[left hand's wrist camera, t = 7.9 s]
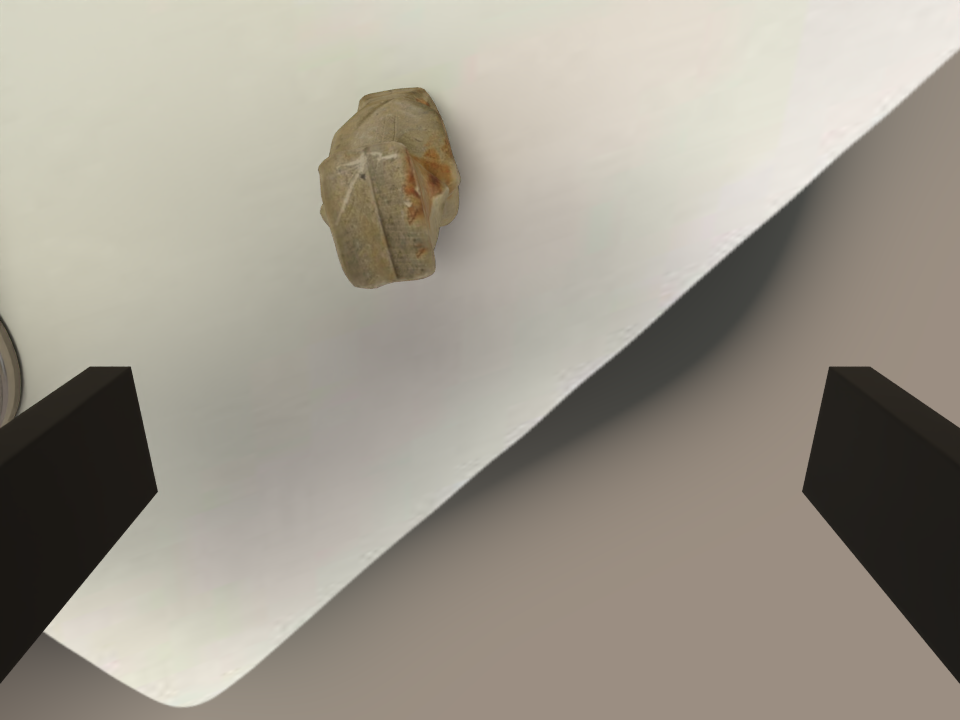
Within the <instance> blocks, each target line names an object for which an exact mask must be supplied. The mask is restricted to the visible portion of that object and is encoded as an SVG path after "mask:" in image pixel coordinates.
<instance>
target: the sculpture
mask: <svg viewBox="0 0 960 720" xmlns="http://www.w3.org/2000/svg"><path fill="white" fill-rule="evenodd" d="M318 171H319V174H320V185H321V197H322V201H323V204H322V206H321V210H320V214H321V216H322V218H323V220H324V221H325V222H326V224H327V225H328V226H329V227H330V230H331V233H332V236H333V239H334V243H335V246H336V250H337V253H338V257H339V260H340V263H341V266H342V269H343V271H344V273H345V275H346V276H347V278H348V279H349V281H350V282H351V283H352V284H353V285H354V286H355V287H359V288H366V289H373V288H378V287H380V286H383V285H385V284H388V283H392V282H400V281H410V280H418V279H423V278H426V277H428V276H430V275H432V274H433V273H434V272H435V268H436V267H435V257H434V248H435V245H436V242H437V239H438V234H439V228H440V227H441V226H445V225H448V224H449V223H450V222H451V221H452V220H453V219H454V218H455V216H456V215H457V212H458V208H459V192H458V186H459V184H460V180H461V177H460V174H459V171H458V169H457V166H456V163H455V160H454V157H453V155H452V151H451V147H450V143H449V139H448V136H447V132H446V129H445V126H444V123H443V121H442V118H441V116H440V114H439V112H438V110H437V108H436V105H435V104H434V102H433V101H432V99H431V97H430V96H429V94H428V93H427V92H426V91H425V90H424V89H422V88H418V87H416V88H402V89H393V90H388V91H382V92H377V93H372V94H368V95H365V96H364V97H362V99H361V100H360V101H359V107H358V112H357V113H356V114H355V115H354V116H353V117H352V118H351V119H349V120H348V121H347V122H346V123H345V124H344V125H343V126H342V127H341V128H340V129H339V130H338V131H337V132H336V134H335V135H334V138H333V140H332V144H331V149H330V154H329V157H328V158H327V159H325V160H324V161H323V162H322V163H321V164H320V166H319V168H318Z"/></svg>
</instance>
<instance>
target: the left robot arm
mask: <svg viewBox="0 0 960 720" xmlns="http://www.w3.org/2000/svg"><path fill="white" fill-rule="evenodd" d="M20 394H21V375H20V369H19V363H18V359H17V356H16V352H15V350H14V347H13V344H12V342H11V339H10V337H9V335H8V333H7V331H6V329H5V328H4V326H3V324H2V322H1V321H0V683H1V682H2V681H3V680H4V678H5V677H6V676H7V675H8V674H9V672H10V671H11V670H12V669H13V667H14V666H15V665H16V664H17V663H18V661H19V660H20V659H21V658H22V657H23V655H24V654H25V653H26V652H27V650H28V649H29V648H30V647H31V646H32V644H33V643H34V642H35V641H36V639H37V638H38V637H39V636H40V635H41V633H42V632H43V631H44V630H45V629H46V627H47V626H48V625H49V624H50V622H51V621H52V620H53V619H54V618H55V616H56V615H57V614H58V613H59V611H60V610H61V609H62V608H63V607H64V605H65V604H66V603H67V602H68V601H69V599H70V598H71V597H72V596H73V594H74V593H75V592H76V591H77V590H78V588H79V587H80V586H81V585H82V583H83V582H84V581H85V580H86V579H87V577H88V576H89V575H90V574H91V573H92V571H93V570H94V569H95V568H96V566H97V565H98V564H99V563H100V562H101V560H102V559H103V558H104V557H105V555H106V554H107V553H108V552H109V551H110V549H111V548H112V547H113V546H114V545H115V543H116V542H117V541H118V540H119V538H120V537H121V536H122V535H123V534H124V532H125V531H126V530H127V529H128V527H129V526H130V525H131V524H132V523H133V521H134V520H135V519H136V518H137V517H138V515H139V514H140V513H141V512H142V510H143V509H144V508H145V507H146V506H147V504H148V503H149V502H150V501H151V499H152V498H153V497H154V496H155V495H156V493H157V492H158V490H157V485H156V481H155V476H154V472H153V467H152V462H151V458H150V453H149V449H148V444H147V439H146V435H145V430H144V426H143V421H142V416H141V412H140V407H139V402H138V398H137V393H136V389H135V384H134V379H133V375H132V370H131V367H89V368H87V369H86V370H84V371H83V372H81V373H80V374H79V375H77V376H76V377H74V378H73V379H71V380H70V381H68V382H67V383H65V384H64V385H62V386H61V387H60V388H58V389H57V390H55V391H54V392H52V393H51V394H49V395H48V396H46V397H45V398H43V399H42V400H41V401H39V402H38V403H36V404H35V405H33V406H32V407H30V408H29V409H27V410H26V411H24V412H23V413H22V414H20V415H19V416H17V417H16V418H14V417H15V415H16V412H17V409H18V406H19V401H20ZM802 492H803V493H804V495H805V496H806V497H807V498H808V499H809V501H810V502H811V503H812V504H813V506H814V507H815V508H816V509H817V510H818V512H819V513H820V514H821V515H822V517H823V518H824V519H825V520H826V521H827V523H828V524H829V525H830V526H831V527H832V529H833V530H834V531H835V532H836V534H837V535H838V536H839V537H840V538H841V540H842V541H843V542H844V543H845V545H846V546H847V547H848V548H849V549H850V551H851V552H852V553H853V554H854V555H855V557H856V558H857V559H858V560H859V562H860V563H861V564H862V565H863V566H864V568H865V569H866V570H867V571H868V573H869V574H870V575H871V576H872V577H873V579H874V580H875V581H876V582H877V583H878V585H879V586H880V587H881V588H882V590H883V591H884V592H885V593H886V594H887V596H888V597H889V598H890V599H891V601H892V602H893V603H894V604H895V605H896V607H897V608H898V609H899V610H900V611H901V613H902V614H903V615H904V616H905V618H906V619H907V620H908V621H909V622H910V624H911V625H912V626H913V627H914V629H915V630H916V631H917V632H918V633H919V635H920V636H921V637H922V638H923V639H924V641H925V642H926V643H927V644H928V646H929V647H930V648H931V649H932V650H933V652H934V653H935V654H936V655H937V657H938V658H939V659H940V660H941V661H942V663H943V664H944V665H945V666H946V667H947V669H948V670H949V671H950V672H951V674H952V675H953V676H954V677H955V678H956V680H957V681H958V682H959V683H960V428H959V427H957V426H956V425H954V424H953V423H952V422H950V421H949V420H947V419H946V418H944V417H943V416H941V415H940V414H938V413H937V412H935V411H934V410H933V409H931V408H930V407H928V406H927V405H925V404H924V403H922V402H921V401H919V400H918V399H917V398H915V397H914V396H912V395H911V394H909V393H908V392H906V391H905V390H903V389H902V388H900V387H899V386H897V385H896V384H895V383H893V382H892V381H890V380H889V379H887V378H886V377H884V376H883V375H881V374H880V373H879V372H877V371H876V370H874V369H873V368H871V367H829V370H828V375H827V379H826V384H825V389H824V393H823V398H822V403H821V407H820V412H819V416H818V421H817V426H816V430H815V435H814V440H813V444H812V449H811V453H810V458H809V462H808V467H807V472H806V476H805V481H804V486H803V490H802Z"/></svg>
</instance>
